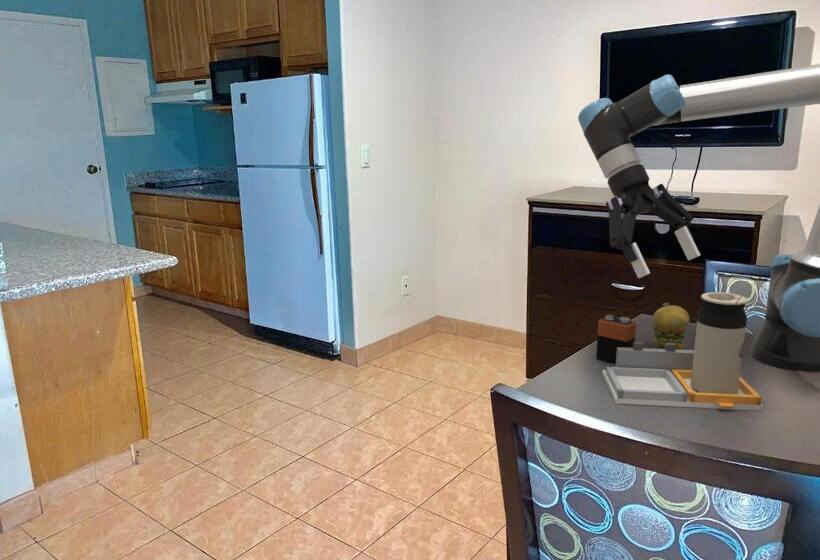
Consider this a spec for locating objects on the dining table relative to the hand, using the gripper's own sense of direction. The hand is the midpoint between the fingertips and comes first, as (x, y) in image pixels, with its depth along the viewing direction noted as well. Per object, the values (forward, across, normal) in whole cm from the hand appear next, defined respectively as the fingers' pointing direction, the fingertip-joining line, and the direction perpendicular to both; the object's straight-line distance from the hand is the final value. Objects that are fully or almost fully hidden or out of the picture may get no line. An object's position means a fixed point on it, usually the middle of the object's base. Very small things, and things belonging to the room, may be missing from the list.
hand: (670, 266), depth 118 cm
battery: (+14, +6, -20) cm, 25 cm away
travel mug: (+24, +3, -1) cm, 25 cm away
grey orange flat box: (+22, +8, -4) cm, 24 cm away
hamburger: (+16, -8, -20) cm, 27 cm away
